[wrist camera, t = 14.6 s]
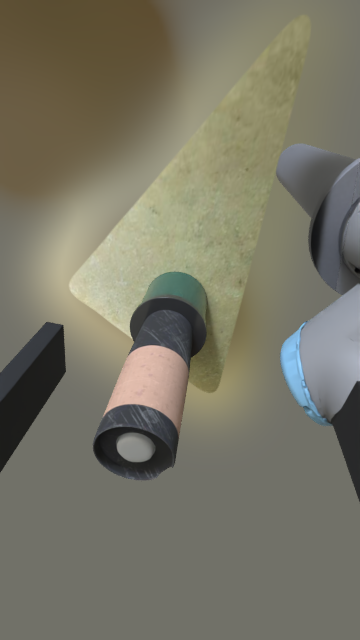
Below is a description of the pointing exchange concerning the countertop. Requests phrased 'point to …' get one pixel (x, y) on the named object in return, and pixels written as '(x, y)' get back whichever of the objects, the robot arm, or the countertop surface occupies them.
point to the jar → (175, 304)
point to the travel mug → (148, 400)
